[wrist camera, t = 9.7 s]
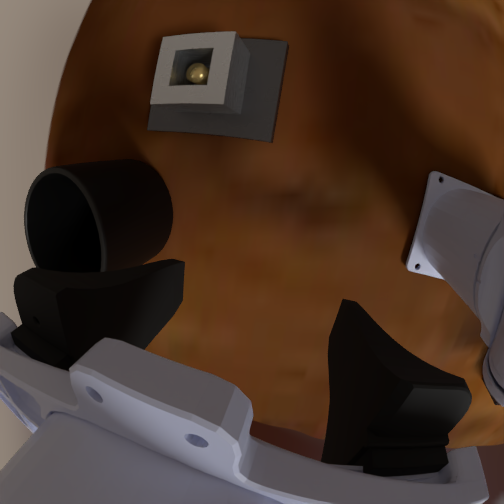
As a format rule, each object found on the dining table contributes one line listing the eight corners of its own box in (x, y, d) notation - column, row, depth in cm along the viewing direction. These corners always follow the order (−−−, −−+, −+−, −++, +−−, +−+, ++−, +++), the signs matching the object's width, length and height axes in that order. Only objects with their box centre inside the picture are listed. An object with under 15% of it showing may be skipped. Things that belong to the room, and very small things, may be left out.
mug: (88, 142, 22) (15, 147, 14) (189, 178, 21) (117, 193, 13) (74, 227, 26) (10, 254, 17) (161, 276, 25) (100, 326, 16)
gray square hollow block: (250, 53, 16) (235, 31, 12) (240, 114, 18) (223, 104, 14) (187, 54, 17) (163, 37, 13) (177, 111, 19) (150, 104, 15)
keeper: (288, 46, 16) (282, 23, 13) (272, 142, 19) (263, 138, 15) (170, 45, 18) (145, 29, 14) (153, 130, 20) (125, 127, 17)
